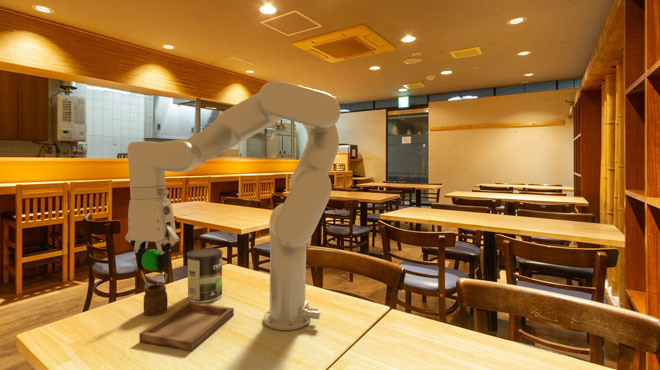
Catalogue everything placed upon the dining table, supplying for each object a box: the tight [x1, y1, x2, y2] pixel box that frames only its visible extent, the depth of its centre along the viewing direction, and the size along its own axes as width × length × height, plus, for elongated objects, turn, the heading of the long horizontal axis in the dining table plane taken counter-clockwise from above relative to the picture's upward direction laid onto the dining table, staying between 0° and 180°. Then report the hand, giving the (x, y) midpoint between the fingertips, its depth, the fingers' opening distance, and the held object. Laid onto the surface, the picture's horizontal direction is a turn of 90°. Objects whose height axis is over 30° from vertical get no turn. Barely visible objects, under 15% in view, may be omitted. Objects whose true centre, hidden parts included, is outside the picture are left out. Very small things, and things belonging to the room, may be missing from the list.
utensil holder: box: [141, 271, 169, 317], centre depth 93 cm, size 6×6×12 cm
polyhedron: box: [141, 248, 159, 272], centre depth 81 cm, size 5×5×5 cm
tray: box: [138, 301, 235, 352], centre depth 85 cm, size 14×18×2 cm
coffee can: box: [186, 247, 223, 304], centre depth 104 cm, size 10×10×14 cm
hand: (153, 267), depth 81 cm, fingers closed on polyhedron, 5 cm apart
